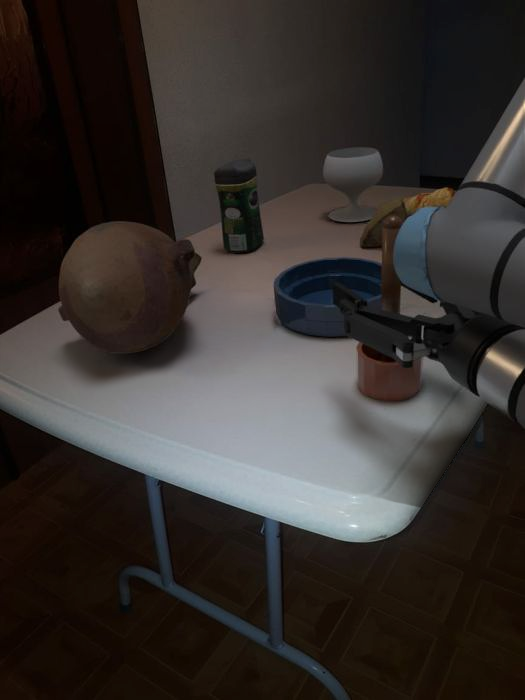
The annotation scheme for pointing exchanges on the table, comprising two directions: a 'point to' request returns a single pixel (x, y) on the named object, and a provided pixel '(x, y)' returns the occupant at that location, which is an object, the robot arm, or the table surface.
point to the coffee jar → (239, 205)
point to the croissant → (428, 200)
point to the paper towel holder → (390, 272)
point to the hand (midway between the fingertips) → (369, 283)
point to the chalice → (353, 179)
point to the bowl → (324, 293)
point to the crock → (386, 376)
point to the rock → (374, 227)
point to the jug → (126, 285)
